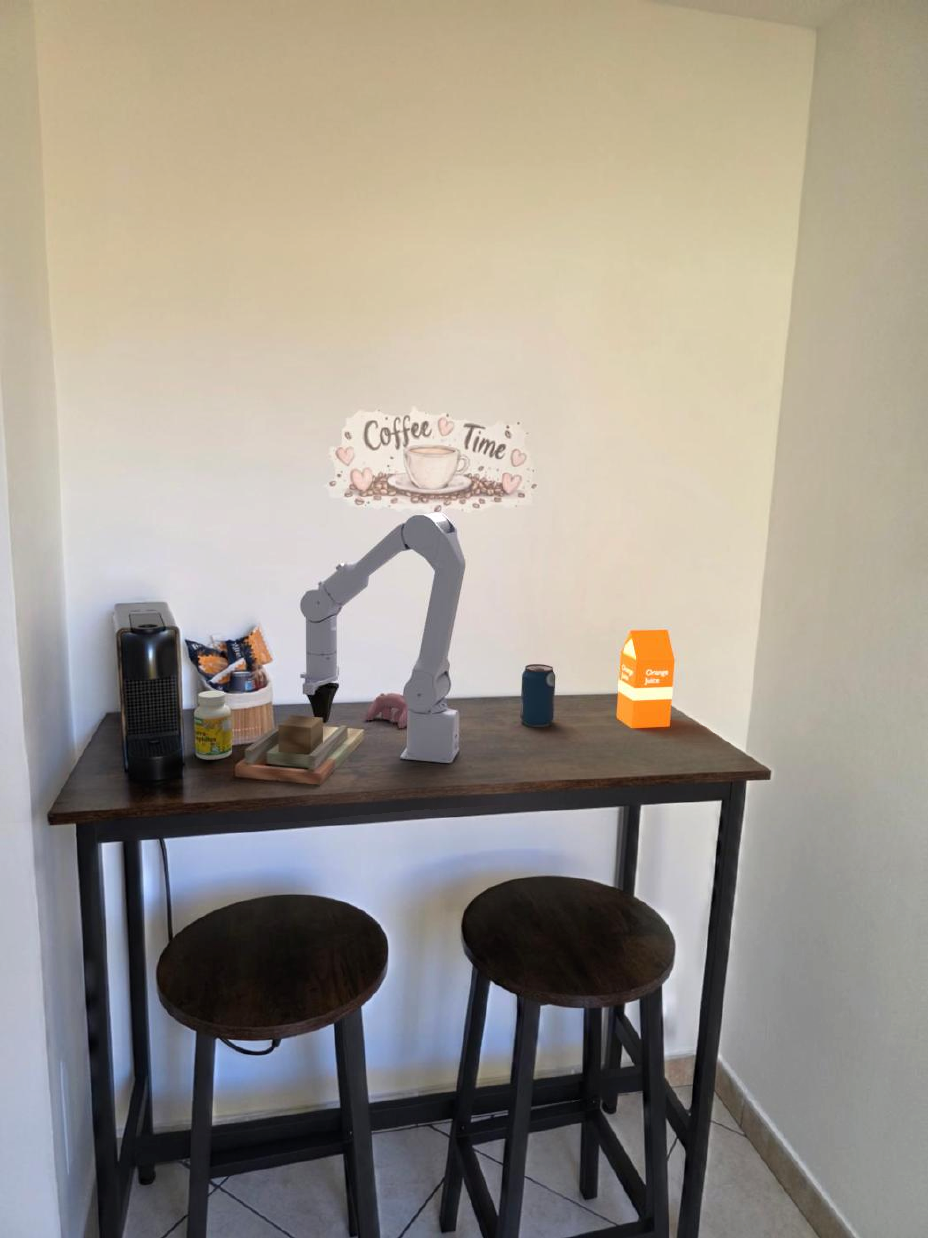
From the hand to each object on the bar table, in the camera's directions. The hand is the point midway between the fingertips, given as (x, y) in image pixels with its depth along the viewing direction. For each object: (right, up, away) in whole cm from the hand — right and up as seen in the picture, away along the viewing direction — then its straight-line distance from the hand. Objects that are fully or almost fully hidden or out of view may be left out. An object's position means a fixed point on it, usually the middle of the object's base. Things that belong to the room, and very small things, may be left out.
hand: (321, 721), depth 158 cm
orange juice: (+65, -3, +19) cm, 68 cm away
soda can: (+42, -2, +16) cm, 45 cm away
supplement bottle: (-18, -5, -8) cm, 21 cm away
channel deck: (-2, -5, -8) cm, 10 cm away
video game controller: (+12, -2, +14) cm, 18 cm away
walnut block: (-2, -4, -10) cm, 10 cm away
